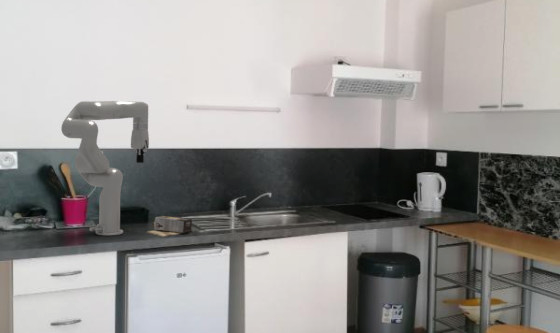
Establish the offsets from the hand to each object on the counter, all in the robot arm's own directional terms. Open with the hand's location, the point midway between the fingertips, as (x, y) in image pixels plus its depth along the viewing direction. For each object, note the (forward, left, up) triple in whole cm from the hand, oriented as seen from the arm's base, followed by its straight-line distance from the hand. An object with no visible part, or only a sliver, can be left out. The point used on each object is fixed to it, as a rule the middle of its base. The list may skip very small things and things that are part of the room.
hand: (140, 162), depth 274 cm
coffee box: (0, -16, -29) cm, 33 cm away
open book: (-2, -24, -33) cm, 41 cm away
